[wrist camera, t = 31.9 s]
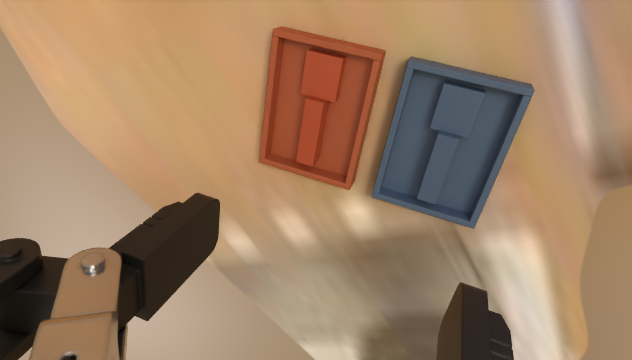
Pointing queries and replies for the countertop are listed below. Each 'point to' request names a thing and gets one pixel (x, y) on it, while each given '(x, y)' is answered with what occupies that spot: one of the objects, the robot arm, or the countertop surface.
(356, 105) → the terracotta tray
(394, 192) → the slate tray
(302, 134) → the terracotta spoon
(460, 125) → the slate spoon
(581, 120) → the countertop surface
